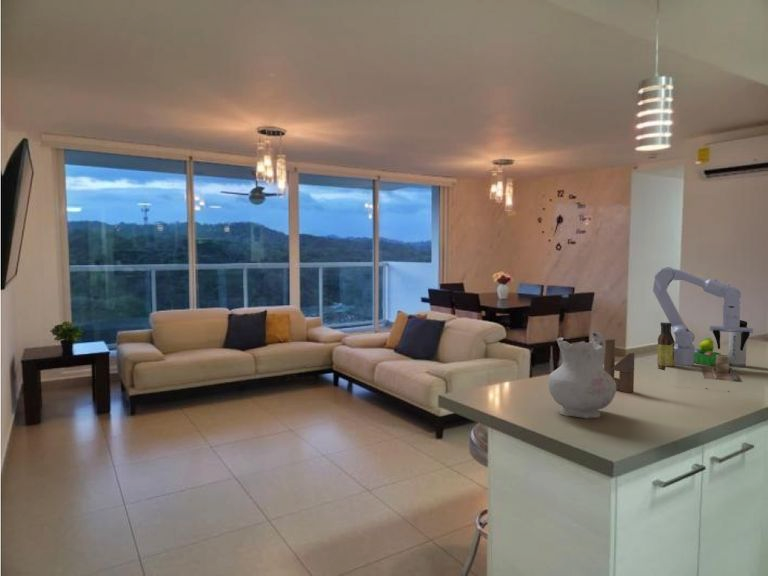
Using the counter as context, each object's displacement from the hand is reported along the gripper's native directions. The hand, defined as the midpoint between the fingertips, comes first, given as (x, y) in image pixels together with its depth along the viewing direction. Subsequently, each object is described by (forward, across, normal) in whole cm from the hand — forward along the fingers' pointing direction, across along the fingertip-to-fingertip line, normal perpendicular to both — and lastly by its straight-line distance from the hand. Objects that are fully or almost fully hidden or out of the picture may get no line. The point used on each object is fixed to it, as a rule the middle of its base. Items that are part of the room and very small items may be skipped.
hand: (730, 349), depth 206 cm
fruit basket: (+10, -8, +15) cm, 20 cm away
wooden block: (+10, -38, -50) cm, 64 cm away
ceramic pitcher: (+10, -45, -84) cm, 96 cm away
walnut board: (+9, -4, -13) cm, 17 cm away
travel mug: (+10, +4, +16) cm, 19 cm away
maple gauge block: (+8, -3, -6) cm, 10 cm away
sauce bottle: (+10, -23, -5) cm, 25 cm away
